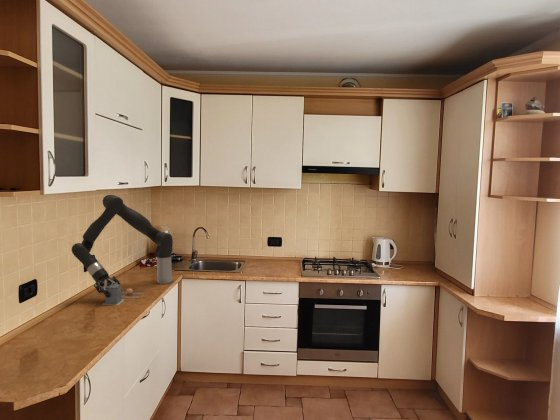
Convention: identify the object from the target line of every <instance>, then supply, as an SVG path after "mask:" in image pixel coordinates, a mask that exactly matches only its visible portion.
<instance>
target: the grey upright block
mask: <svg viewBox="0 0 560 420" xmlns="http://www.w3.org/2000/svg"><path fill="white" fill-rule="evenodd" d="M106 290H107V291H108V292H109V294H110V295H111V296H110V297H109V298H107V297H106V296H105V295H104V296H105V302H106V304H118V303H119V302H120V301H121V300H122V292H121V290H122V284H121V283H120V284H118V283H117V284H113V283H112V284H111V285H109V286H107V287H106Z"/></svg>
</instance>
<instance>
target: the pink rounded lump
mask: <svg viewBox="0 0 560 420" xmlns="http://www.w3.org/2000/svg"><path fill="white" fill-rule="evenodd" d="M126 291H127V295H128V296H129V295H133V291H134V290H133V288H127V289H126Z"/></svg>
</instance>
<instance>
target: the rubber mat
mask: <svg viewBox="0 0 560 420" xmlns="http://www.w3.org/2000/svg"><path fill="white" fill-rule="evenodd" d="M125 300H126V299H122V300H121V301H120V302H119V303H118V304H106V301H105V302H103V303H102V306H119V305H121V304H122V303H123V302H124V301H125Z"/></svg>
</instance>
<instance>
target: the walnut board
mask: <svg viewBox="0 0 560 420" xmlns="http://www.w3.org/2000/svg"><path fill="white" fill-rule="evenodd" d="M132 291H133V295H129V296H128V295H127V290H122V299H125V300H126V299H131V300H132V299H135V300H136V299H139V298H140V297H141V296H142V295H143V294H145V292H146V290H132Z"/></svg>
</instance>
